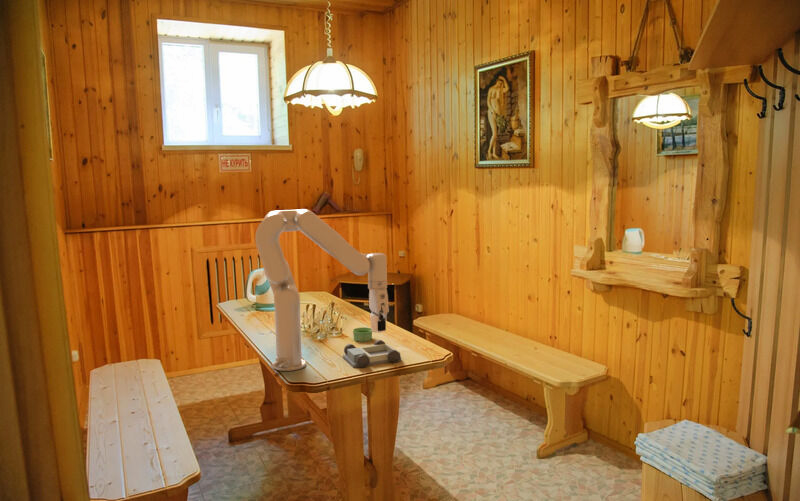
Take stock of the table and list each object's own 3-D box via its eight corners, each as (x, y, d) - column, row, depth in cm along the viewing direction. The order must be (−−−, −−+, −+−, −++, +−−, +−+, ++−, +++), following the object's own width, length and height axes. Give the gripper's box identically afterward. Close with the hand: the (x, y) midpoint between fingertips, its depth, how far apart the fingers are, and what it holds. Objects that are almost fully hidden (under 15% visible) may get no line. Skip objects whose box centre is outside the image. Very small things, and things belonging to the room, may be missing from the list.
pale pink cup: (385, 333, 218) (384, 316, 217) (368, 332, 220) (367, 315, 219) (388, 328, 225) (388, 311, 224) (372, 328, 226) (372, 311, 225)
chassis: (355, 369, 211) (354, 357, 210) (341, 356, 226) (341, 345, 225) (403, 361, 219) (402, 349, 218) (386, 349, 234) (386, 338, 233)
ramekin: (359, 343, 244) (359, 333, 243) (349, 338, 251) (348, 329, 251) (376, 340, 249) (376, 330, 249) (365, 335, 256) (365, 326, 256)
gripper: (394, 287, 213) (395, 332, 216) (378, 279, 229) (379, 322, 232) (376, 289, 210) (377, 335, 213) (361, 281, 226) (362, 324, 228)
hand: (378, 328), depth 222 cm, fingers closed on pale pink cup, 6 cm apart
